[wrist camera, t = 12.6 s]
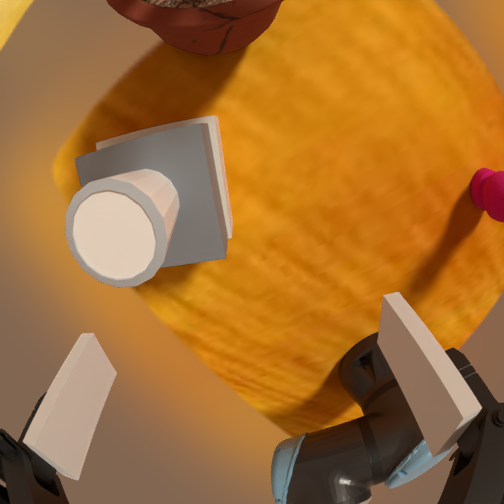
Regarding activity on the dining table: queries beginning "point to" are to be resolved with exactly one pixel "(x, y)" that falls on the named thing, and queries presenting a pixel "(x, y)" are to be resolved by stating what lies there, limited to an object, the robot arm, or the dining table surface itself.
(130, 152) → the tower top
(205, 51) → the potted plant
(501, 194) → the pepper mill
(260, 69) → the dining table surface
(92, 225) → the white cup
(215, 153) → the tower base
